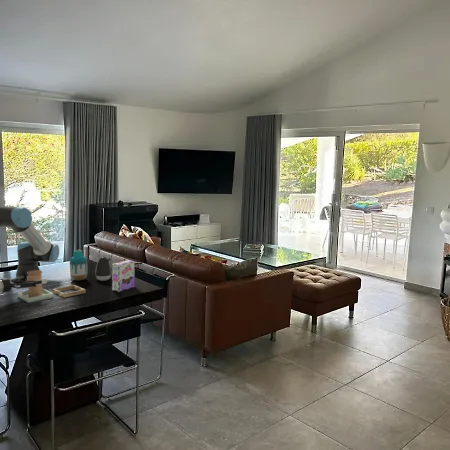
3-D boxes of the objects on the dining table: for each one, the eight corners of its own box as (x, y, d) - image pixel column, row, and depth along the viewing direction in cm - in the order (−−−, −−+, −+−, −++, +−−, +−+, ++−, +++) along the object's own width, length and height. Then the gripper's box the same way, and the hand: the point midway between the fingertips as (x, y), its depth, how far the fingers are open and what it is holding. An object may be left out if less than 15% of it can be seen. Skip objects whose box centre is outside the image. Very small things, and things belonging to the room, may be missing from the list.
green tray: (17, 297, 253) (17, 292, 252) (42, 292, 263) (42, 288, 262) (28, 302, 243) (28, 298, 243) (53, 297, 253) (53, 293, 253)
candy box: (118, 292, 266) (118, 265, 264) (111, 290, 269) (111, 263, 267) (135, 287, 278) (135, 260, 275) (128, 285, 281) (128, 259, 278)
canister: (25, 295, 253) (24, 271, 250) (39, 293, 258) (38, 269, 256) (31, 298, 247) (30, 274, 245) (45, 296, 253) (44, 271, 251)
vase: (78, 283, 283) (76, 253, 281) (67, 280, 289) (65, 251, 286) (91, 279, 292) (90, 250, 289) (80, 277, 298) (78, 248, 295)
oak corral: (52, 292, 263) (52, 289, 262) (74, 288, 272) (74, 284, 272) (63, 297, 253) (63, 294, 253) (85, 292, 263) (85, 289, 263)
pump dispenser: (107, 282, 287) (107, 259, 284) (92, 281, 289) (92, 257, 287) (114, 278, 297) (114, 255, 294) (100, 277, 299) (99, 254, 296)
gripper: (-7, 288, 247) (34, 281, 263) (9, 297, 231) (51, 289, 247) (-7, 275, 246) (33, 268, 262) (9, 283, 230) (51, 276, 246)
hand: (42, 278), depth 255 cm, fingers open, 10 cm apart
